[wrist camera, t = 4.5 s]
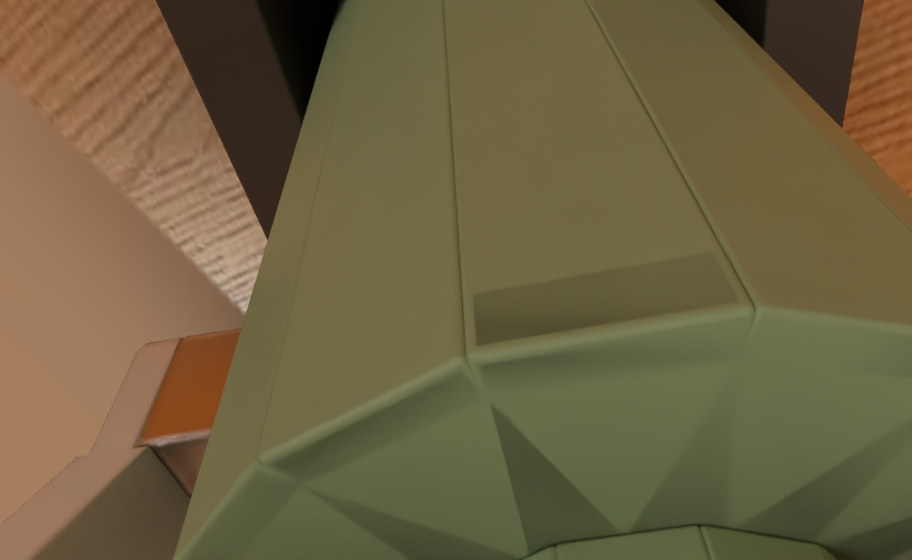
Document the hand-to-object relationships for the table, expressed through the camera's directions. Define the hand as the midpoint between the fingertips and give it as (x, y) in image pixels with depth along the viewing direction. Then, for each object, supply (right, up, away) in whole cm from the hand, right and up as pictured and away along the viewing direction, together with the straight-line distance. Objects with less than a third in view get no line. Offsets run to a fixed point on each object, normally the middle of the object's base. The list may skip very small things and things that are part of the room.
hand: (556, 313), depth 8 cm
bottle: (0, +6, +7) cm, 9 cm away
